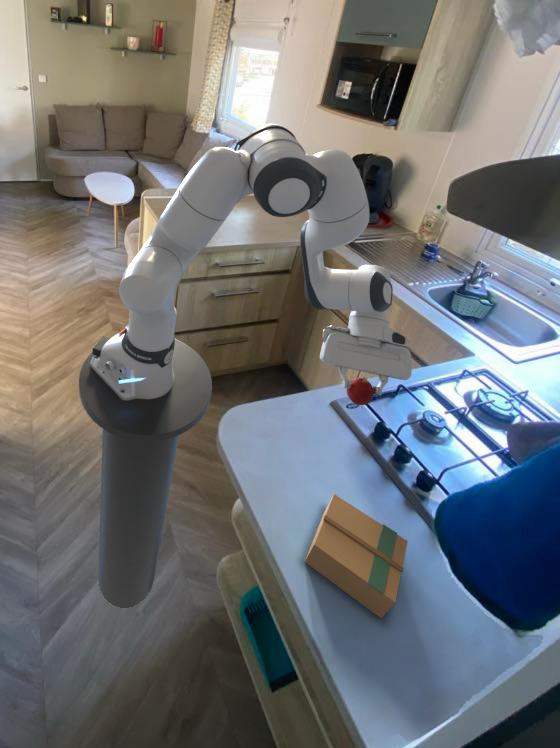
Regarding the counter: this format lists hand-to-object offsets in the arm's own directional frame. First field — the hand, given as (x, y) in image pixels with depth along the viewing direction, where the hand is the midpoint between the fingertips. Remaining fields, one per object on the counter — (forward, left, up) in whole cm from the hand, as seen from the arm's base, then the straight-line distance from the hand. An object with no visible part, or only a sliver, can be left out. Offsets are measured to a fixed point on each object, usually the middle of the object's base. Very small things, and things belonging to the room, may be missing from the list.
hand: (361, 391), depth 98 cm
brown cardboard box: (+9, -32, -8) cm, 35 cm away
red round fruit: (0, +1, -5) cm, 5 cm away
